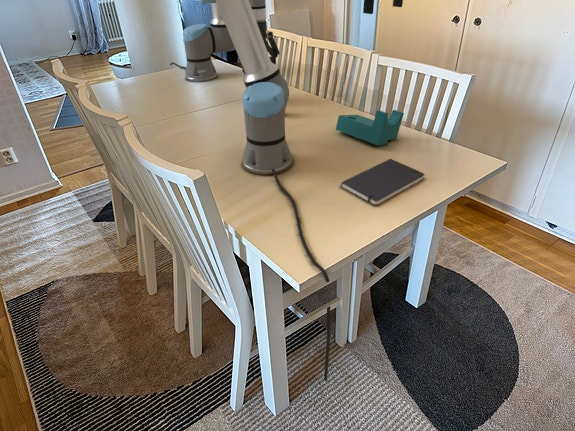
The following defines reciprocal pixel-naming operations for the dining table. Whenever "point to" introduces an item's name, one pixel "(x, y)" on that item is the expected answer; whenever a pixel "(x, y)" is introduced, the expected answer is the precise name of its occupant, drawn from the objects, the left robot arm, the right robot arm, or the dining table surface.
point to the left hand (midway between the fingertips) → (260, 77)
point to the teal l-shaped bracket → (371, 126)
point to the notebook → (382, 181)
